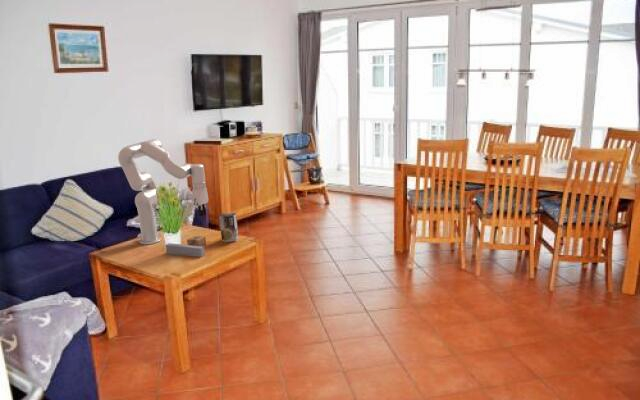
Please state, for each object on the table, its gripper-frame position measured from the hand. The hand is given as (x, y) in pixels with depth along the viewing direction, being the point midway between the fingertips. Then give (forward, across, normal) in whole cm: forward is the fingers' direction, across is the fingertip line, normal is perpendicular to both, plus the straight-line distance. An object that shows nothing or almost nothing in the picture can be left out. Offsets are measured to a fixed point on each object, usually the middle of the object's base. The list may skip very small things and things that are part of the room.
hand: (202, 215), depth 320 cm
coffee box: (+17, -8, +12) cm, 23 cm away
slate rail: (+17, +20, 0) cm, 26 cm away
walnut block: (+17, +8, 0) cm, 19 cm away
